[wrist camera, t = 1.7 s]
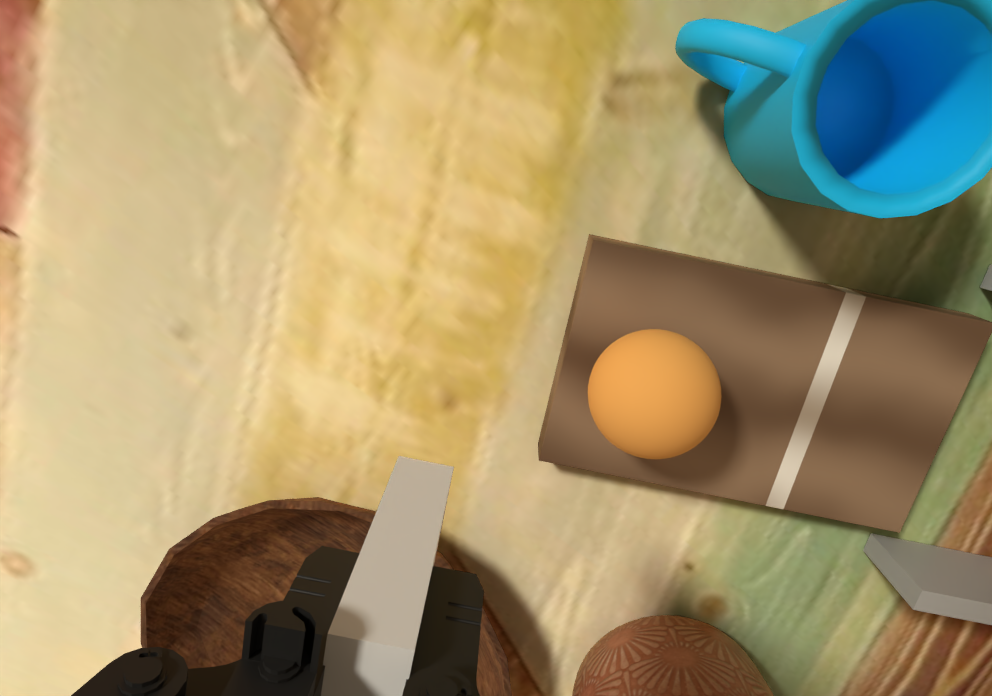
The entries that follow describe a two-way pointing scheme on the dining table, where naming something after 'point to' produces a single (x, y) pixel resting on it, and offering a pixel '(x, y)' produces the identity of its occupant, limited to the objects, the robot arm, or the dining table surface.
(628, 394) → the ball
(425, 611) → the robot arm
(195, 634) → the bowl
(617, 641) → the planter
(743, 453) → the board
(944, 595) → the grey frame
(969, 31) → the mug
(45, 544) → the dining table surface
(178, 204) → the dining table surface
